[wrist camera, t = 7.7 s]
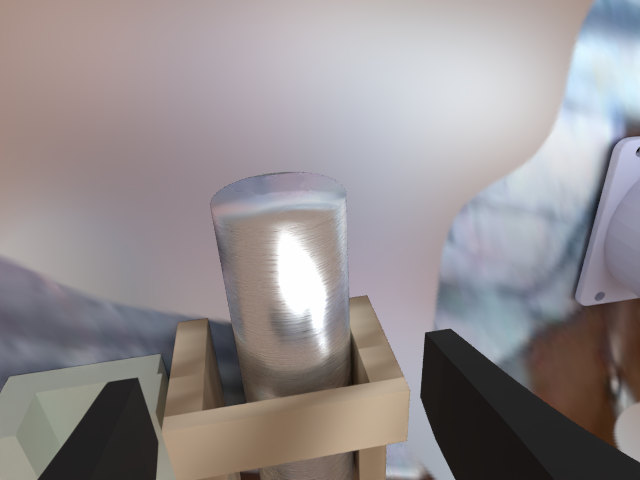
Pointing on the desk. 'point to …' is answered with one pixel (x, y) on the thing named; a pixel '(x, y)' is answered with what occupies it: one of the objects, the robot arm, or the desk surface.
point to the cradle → (69, 411)
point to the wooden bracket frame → (284, 410)
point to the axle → (288, 294)
